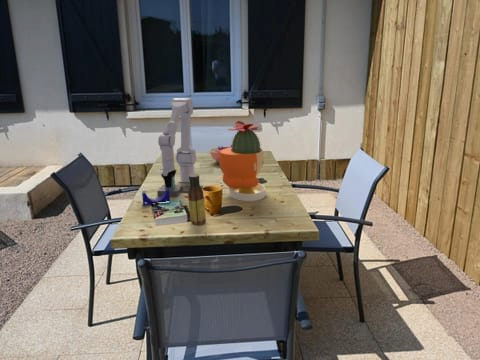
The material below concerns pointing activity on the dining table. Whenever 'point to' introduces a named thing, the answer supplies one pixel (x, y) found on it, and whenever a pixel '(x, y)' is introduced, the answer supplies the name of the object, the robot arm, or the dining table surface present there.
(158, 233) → the dining table surface
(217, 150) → the cell model
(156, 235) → the dining table surface
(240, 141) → the potted cactus
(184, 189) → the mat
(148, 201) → the cable clip
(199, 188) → the sauce bottle
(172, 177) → the plug
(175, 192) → the socket block
